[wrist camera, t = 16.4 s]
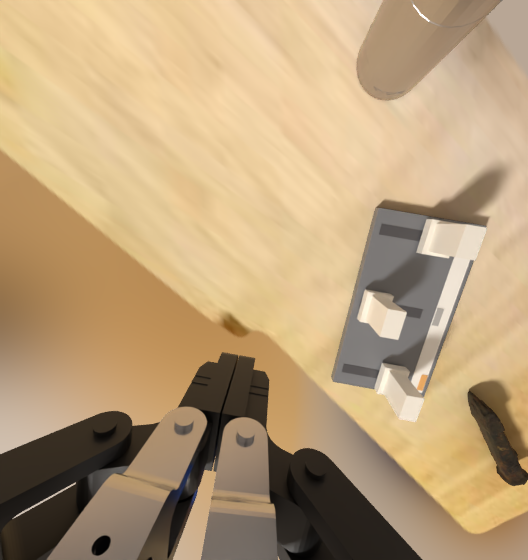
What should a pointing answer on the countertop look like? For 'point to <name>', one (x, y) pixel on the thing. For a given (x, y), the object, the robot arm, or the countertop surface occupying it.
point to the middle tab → (382, 314)
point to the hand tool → (497, 442)
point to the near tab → (451, 239)
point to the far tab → (399, 391)
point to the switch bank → (401, 302)
